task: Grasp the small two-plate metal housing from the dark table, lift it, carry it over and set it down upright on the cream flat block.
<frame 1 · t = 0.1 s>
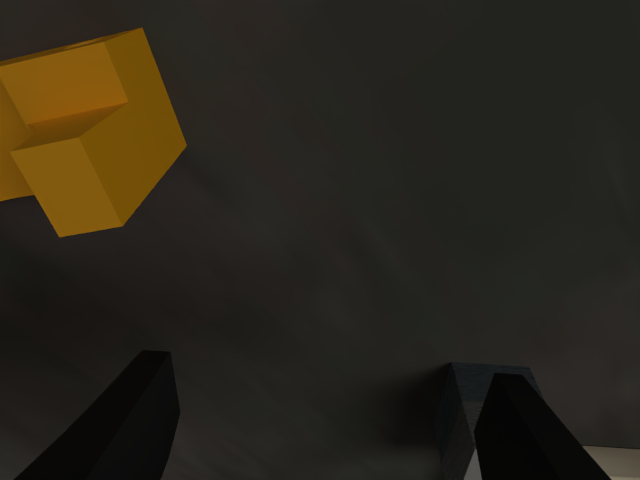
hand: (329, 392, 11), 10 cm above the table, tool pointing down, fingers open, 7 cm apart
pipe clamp: (26, 119, 18), on the table
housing: (478, 395, 25), on the table
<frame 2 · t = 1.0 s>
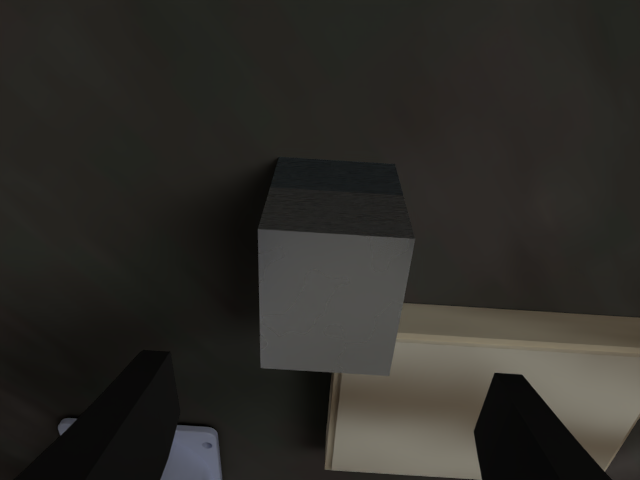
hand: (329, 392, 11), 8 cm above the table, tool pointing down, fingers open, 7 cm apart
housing: (332, 222, 17), on the table
cream flat block: (471, 384, 21), on the table
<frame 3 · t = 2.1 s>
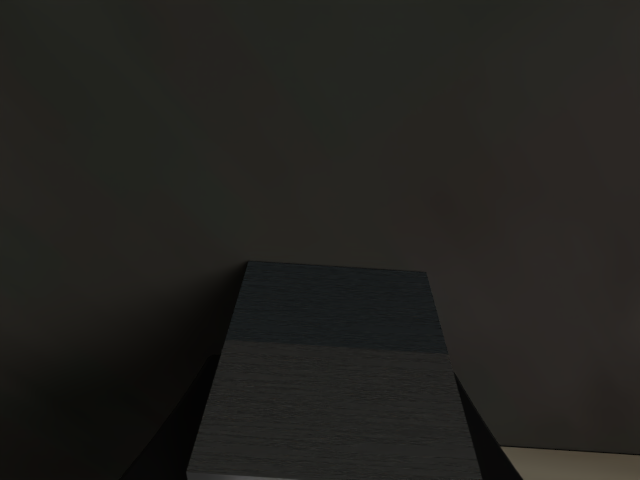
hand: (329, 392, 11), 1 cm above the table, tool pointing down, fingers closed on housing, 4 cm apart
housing: (330, 347, 12), on the table, touching gripper
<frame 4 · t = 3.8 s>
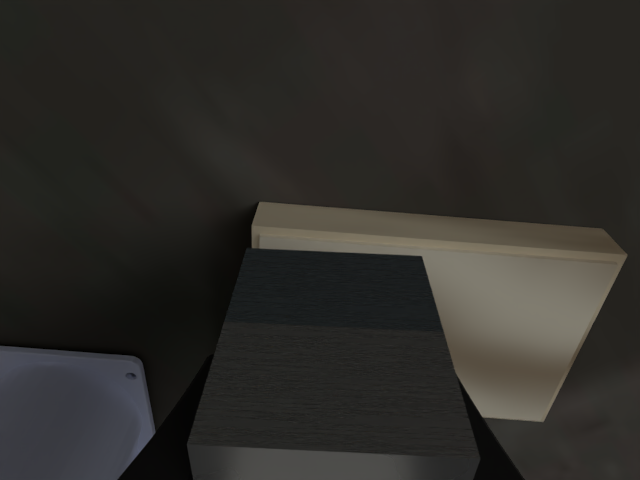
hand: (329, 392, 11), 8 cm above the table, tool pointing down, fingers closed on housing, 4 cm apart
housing: (329, 333, 12), point 7 cm above the table, touching gripper
cream flat block: (410, 307, 20), on the table
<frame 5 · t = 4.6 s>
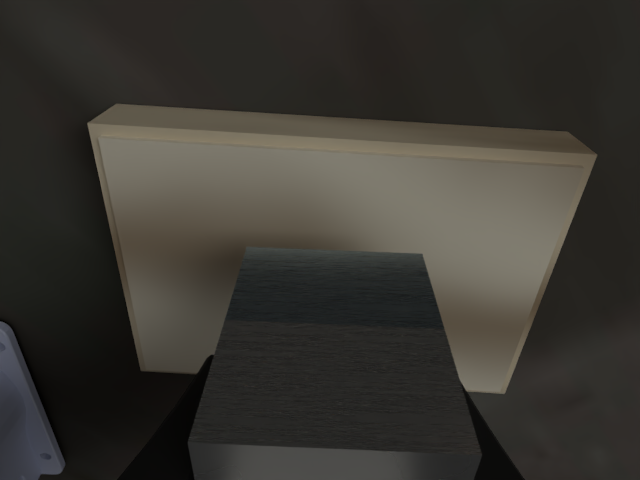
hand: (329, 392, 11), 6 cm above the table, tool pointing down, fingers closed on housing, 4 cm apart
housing: (329, 332, 12), point 4 cm above the table, touching gripper
cream flat block: (331, 249, 16), on the table
when the fingers open (4 cm above the table, at t = 5.3 s): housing stays where it is, resting on cream flat block.
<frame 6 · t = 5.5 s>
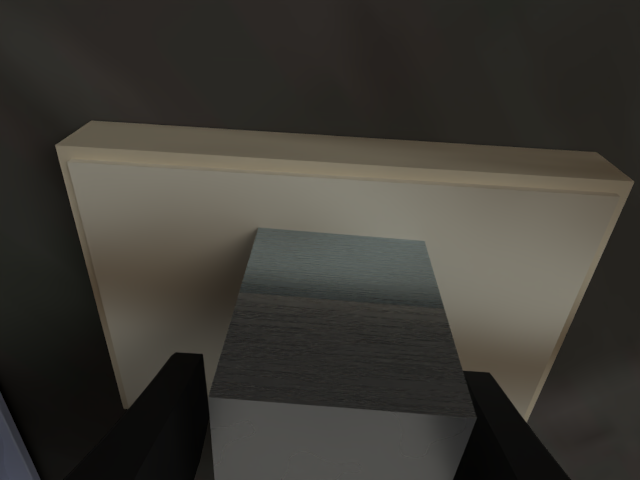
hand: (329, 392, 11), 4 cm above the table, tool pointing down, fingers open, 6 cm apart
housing: (332, 313, 12), point 2 cm above the table, touching cream flat block
cream flat block: (332, 277, 14), on the table
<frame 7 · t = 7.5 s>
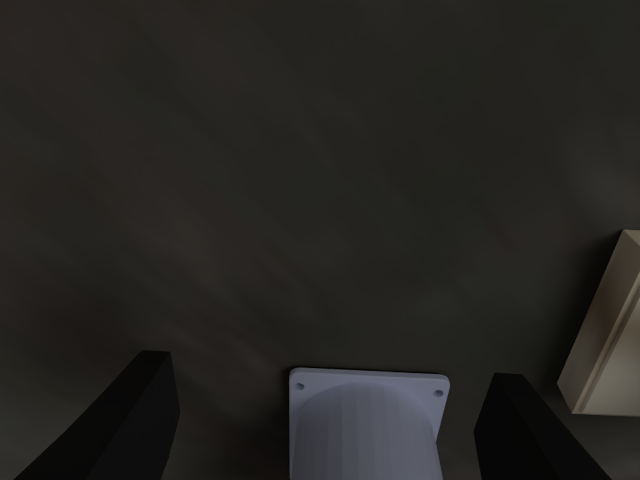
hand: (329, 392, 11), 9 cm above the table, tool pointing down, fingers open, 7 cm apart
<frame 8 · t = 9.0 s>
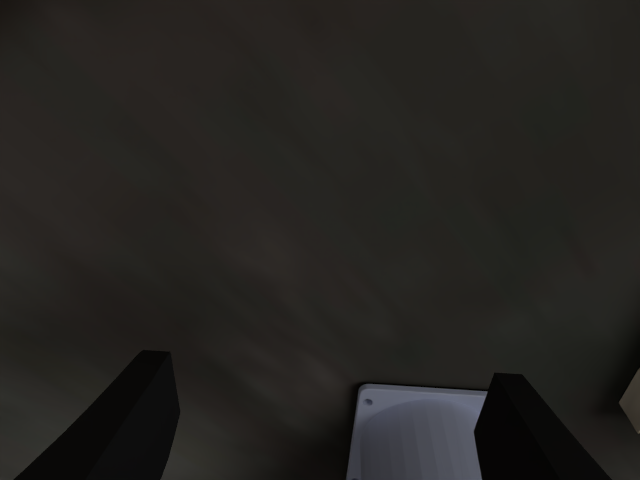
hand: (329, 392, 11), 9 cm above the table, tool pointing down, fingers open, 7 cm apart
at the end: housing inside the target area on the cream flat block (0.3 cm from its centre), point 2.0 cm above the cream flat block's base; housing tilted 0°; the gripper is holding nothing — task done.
